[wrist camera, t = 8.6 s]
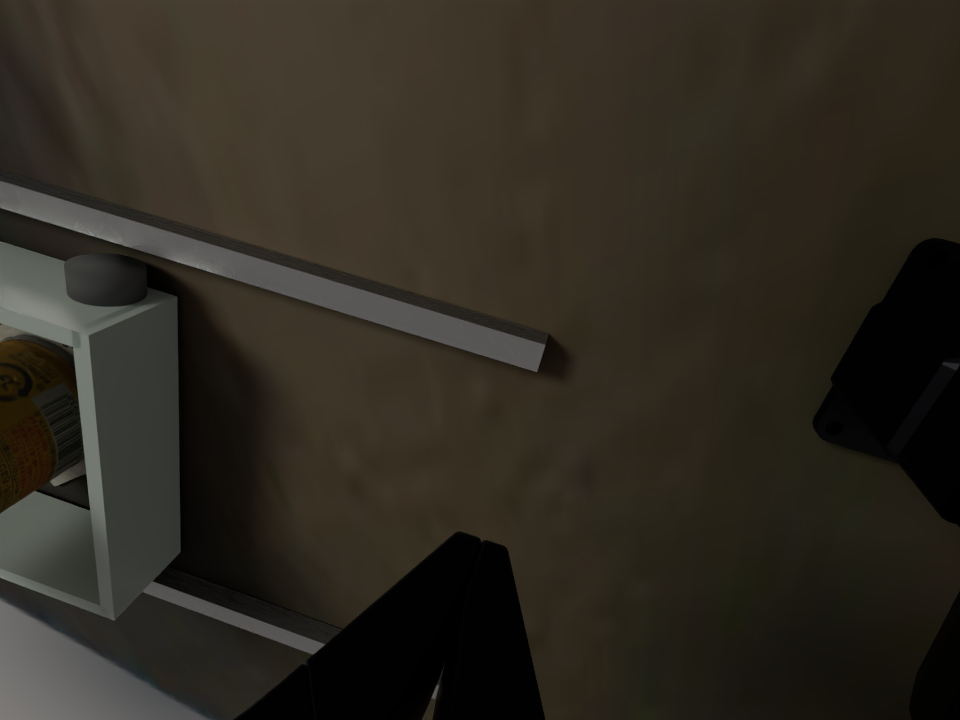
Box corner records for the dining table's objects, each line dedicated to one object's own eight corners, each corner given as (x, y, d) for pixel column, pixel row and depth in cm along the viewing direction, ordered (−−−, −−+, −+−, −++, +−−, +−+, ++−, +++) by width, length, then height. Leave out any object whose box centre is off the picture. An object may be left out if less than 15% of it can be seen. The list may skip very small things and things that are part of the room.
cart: (176, 271, 21) (86, 305, 17) (180, 567, 27) (115, 636, 24) (-113, 182, 22) (-255, 197, 18) (-41, 487, 28) (-135, 541, 25)
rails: (548, 333, 19) (545, 345, 18) (440, 679, 27) (434, 699, 26) (-164, 120, 21) (-198, 121, 21) (-66, 495, 30) (-87, 507, 29)
